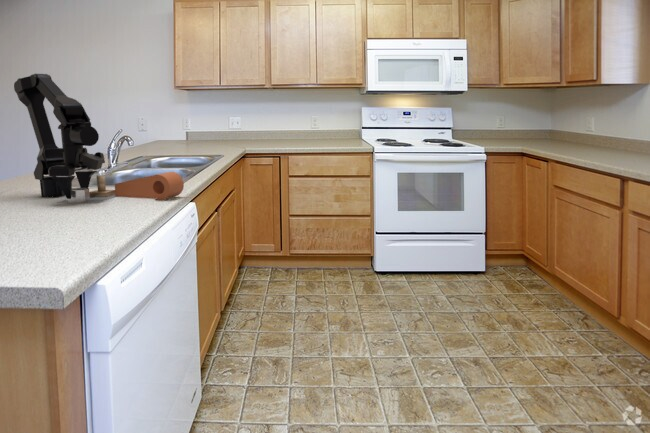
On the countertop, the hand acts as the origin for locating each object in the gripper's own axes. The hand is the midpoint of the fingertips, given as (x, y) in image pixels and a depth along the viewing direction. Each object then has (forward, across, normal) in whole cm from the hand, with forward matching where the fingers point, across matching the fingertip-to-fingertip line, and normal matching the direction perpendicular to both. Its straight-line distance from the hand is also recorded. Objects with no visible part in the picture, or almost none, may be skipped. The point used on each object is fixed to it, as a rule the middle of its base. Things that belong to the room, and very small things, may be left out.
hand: (77, 196), depth 175 cm
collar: (+1, 0, 0) cm, 1 cm away
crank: (+2, +10, -18) cm, 21 cm away
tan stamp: (+1, +10, -3) cm, 10 cm away
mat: (+2, +4, -2) cm, 5 cm away
